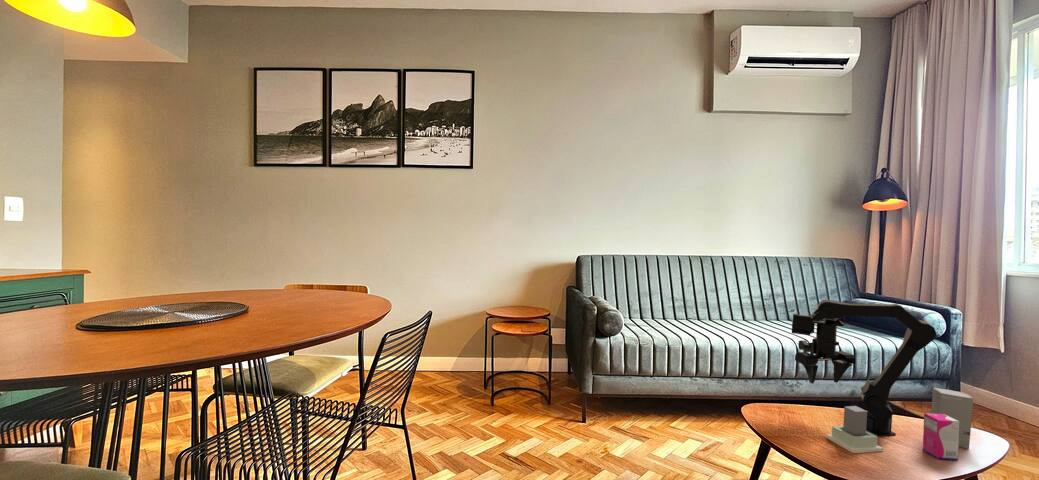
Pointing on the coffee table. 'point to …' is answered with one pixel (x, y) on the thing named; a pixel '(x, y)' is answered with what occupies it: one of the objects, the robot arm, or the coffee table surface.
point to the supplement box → (941, 436)
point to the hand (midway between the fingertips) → (823, 382)
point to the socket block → (854, 441)
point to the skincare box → (955, 411)
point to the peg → (855, 421)
